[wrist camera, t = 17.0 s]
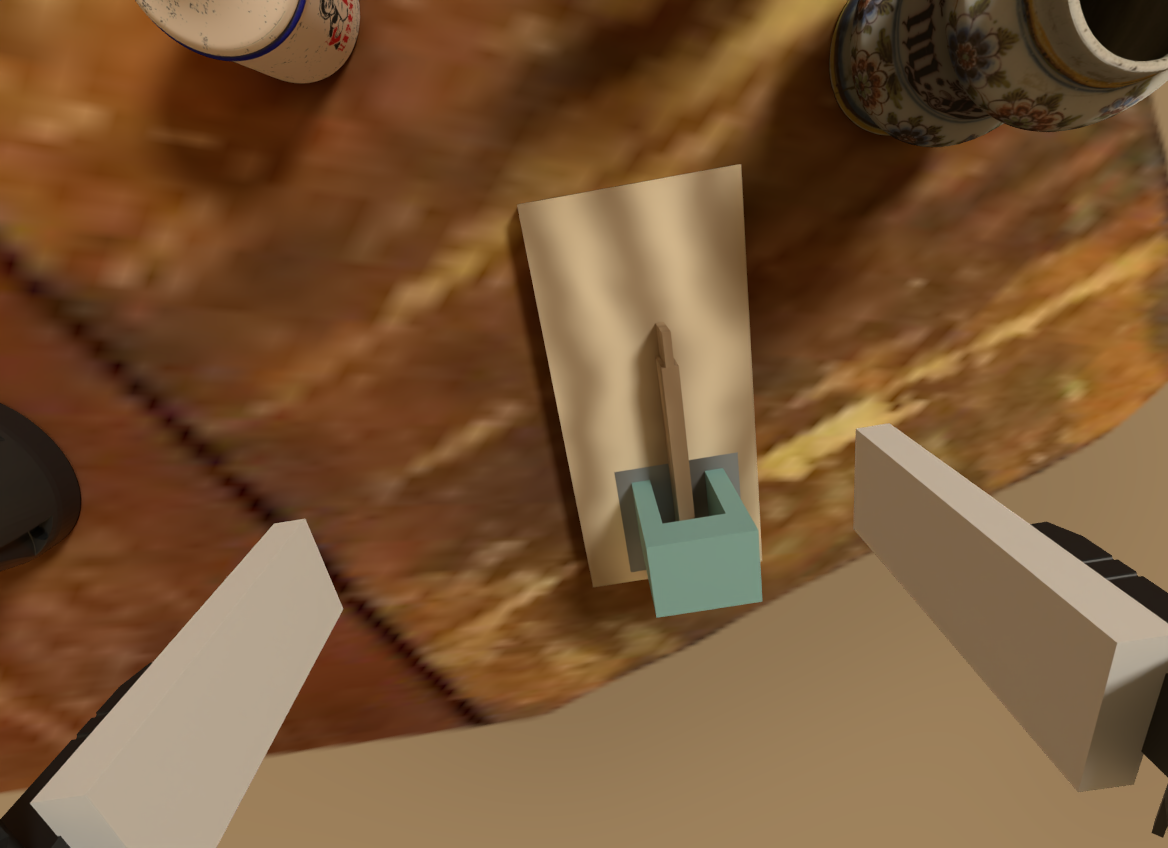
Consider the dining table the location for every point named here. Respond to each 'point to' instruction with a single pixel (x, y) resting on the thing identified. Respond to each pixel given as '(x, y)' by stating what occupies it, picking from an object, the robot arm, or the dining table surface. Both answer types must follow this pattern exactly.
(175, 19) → the teacup with lid
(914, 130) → the apothecary jar
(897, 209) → the dining table surface
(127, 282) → the dining table surface
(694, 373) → the board
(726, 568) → the bracket
